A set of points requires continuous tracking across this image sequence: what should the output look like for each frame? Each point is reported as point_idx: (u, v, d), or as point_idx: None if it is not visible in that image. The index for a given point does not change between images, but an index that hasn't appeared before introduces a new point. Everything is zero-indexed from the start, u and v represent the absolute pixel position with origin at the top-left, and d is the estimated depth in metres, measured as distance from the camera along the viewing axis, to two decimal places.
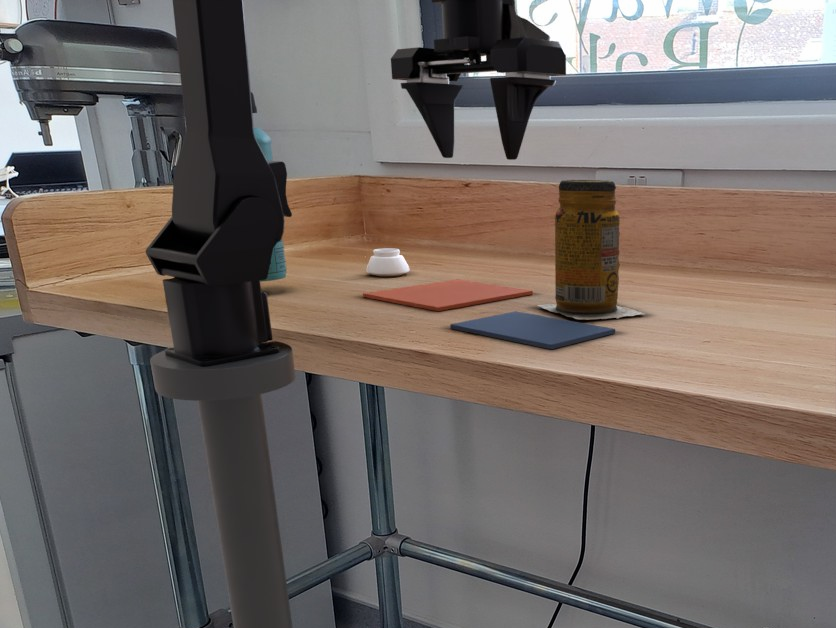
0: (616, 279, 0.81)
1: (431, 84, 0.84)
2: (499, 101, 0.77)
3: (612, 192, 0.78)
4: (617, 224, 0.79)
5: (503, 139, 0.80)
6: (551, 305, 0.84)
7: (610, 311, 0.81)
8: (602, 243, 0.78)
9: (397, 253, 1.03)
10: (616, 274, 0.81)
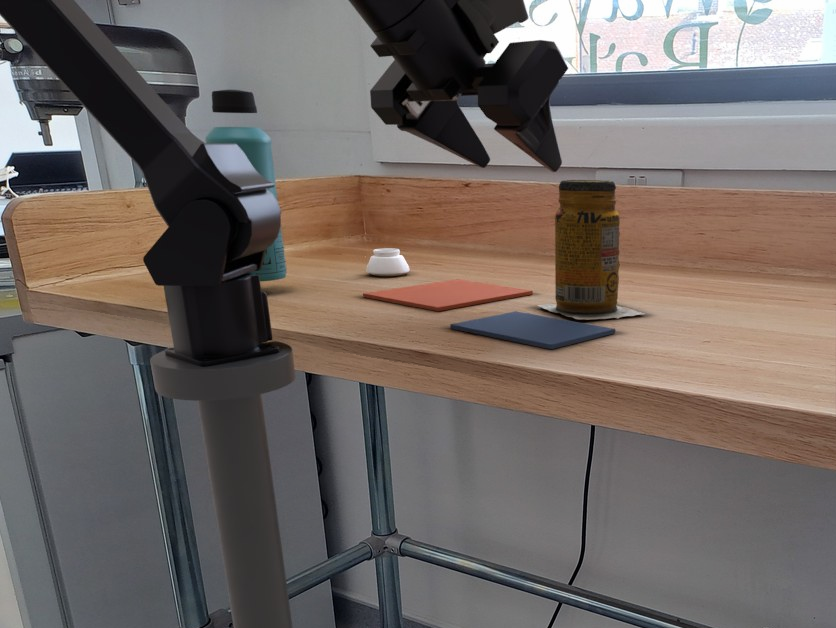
0: (616, 279, 0.81)
1: (427, 112, 0.70)
2: (516, 142, 0.64)
3: (612, 192, 0.78)
4: (617, 224, 0.79)
5: (539, 162, 0.68)
6: (551, 305, 0.84)
7: (610, 311, 0.81)
8: (602, 243, 0.78)
9: (397, 253, 1.03)
10: (616, 274, 0.81)
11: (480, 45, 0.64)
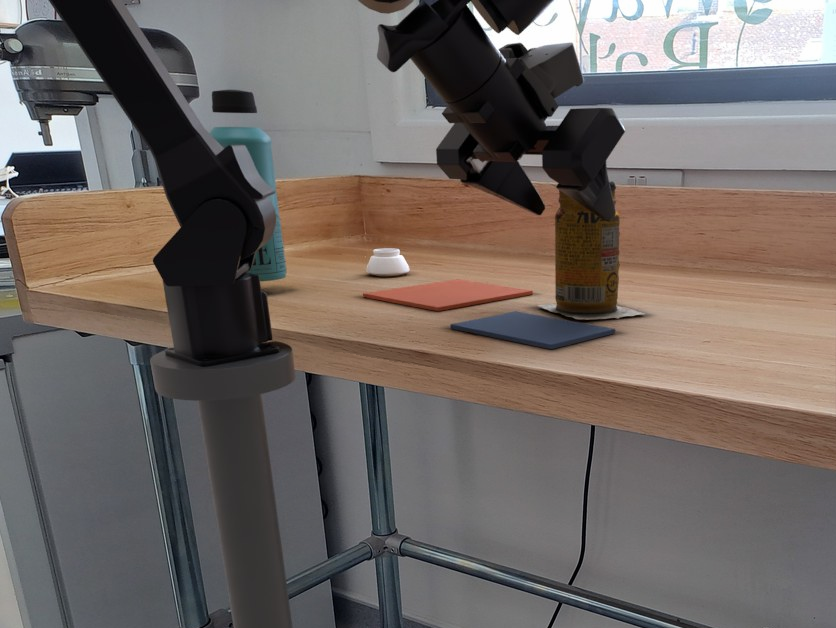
0: (616, 279, 0.81)
1: (489, 168, 0.76)
2: (576, 198, 0.70)
3: (612, 192, 0.78)
4: (617, 224, 0.79)
5: (596, 213, 0.73)
6: (551, 305, 0.84)
7: (610, 311, 0.81)
8: (602, 243, 0.78)
9: (397, 253, 1.03)
10: (616, 274, 0.81)
11: (542, 110, 0.69)
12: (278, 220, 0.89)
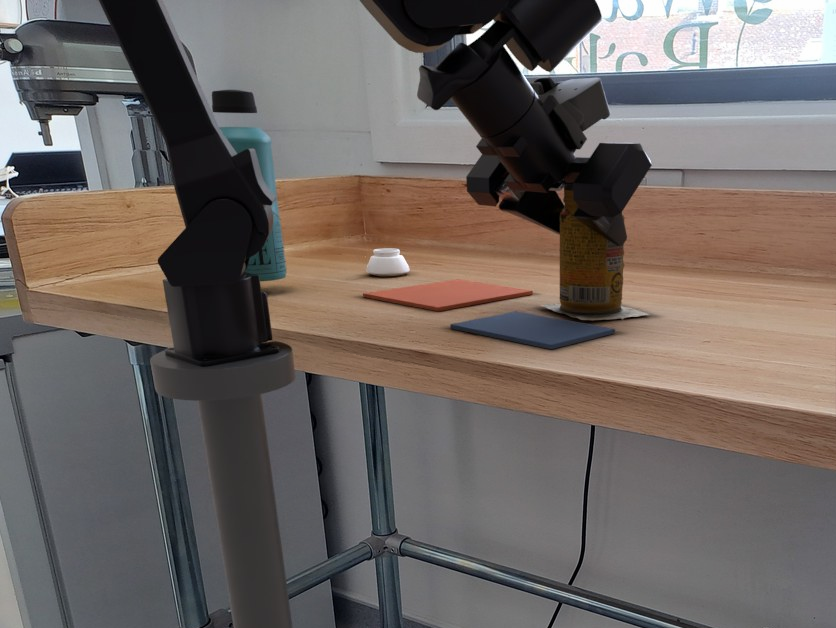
0: (621, 279, 0.80)
1: (527, 196, 0.78)
2: (591, 225, 0.74)
3: None
4: None
5: (609, 239, 0.77)
6: (555, 305, 0.83)
7: (614, 311, 0.81)
8: (607, 244, 0.78)
9: (397, 253, 1.03)
10: (621, 274, 0.80)
11: (571, 143, 0.72)
12: (278, 220, 0.89)
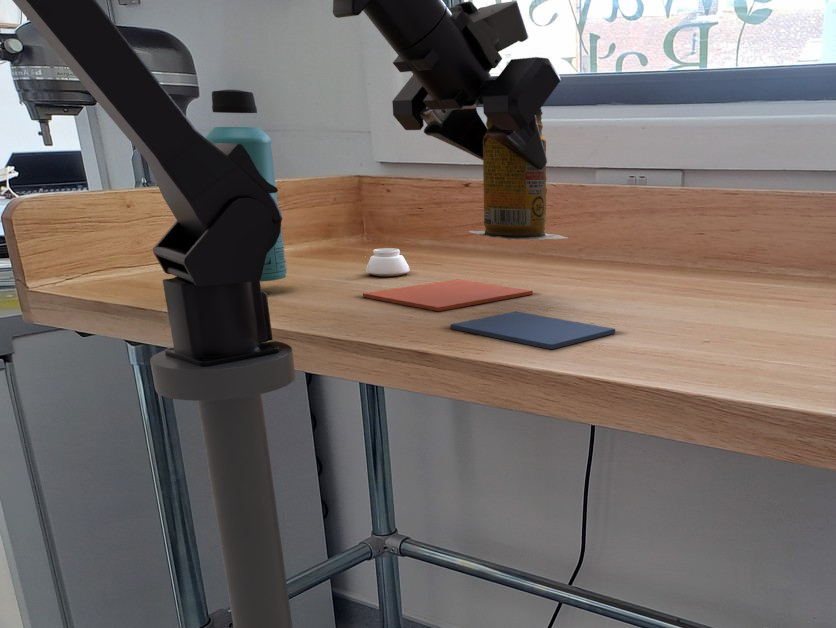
0: (542, 204, 0.82)
1: (450, 119, 0.80)
2: (506, 144, 0.76)
3: (538, 116, 0.80)
4: None
5: (527, 161, 0.79)
6: (481, 231, 0.86)
7: (536, 235, 0.83)
8: (527, 166, 0.80)
9: (397, 253, 1.03)
10: (542, 199, 0.82)
11: (486, 61, 0.74)
12: None
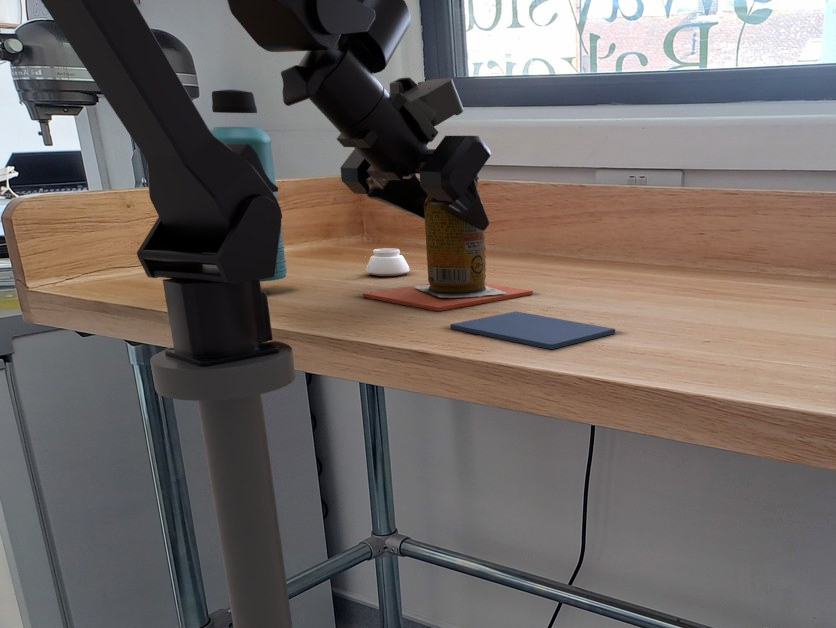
0: (481, 262, 0.89)
1: (390, 184, 0.87)
2: (448, 211, 0.82)
3: None
4: None
5: (470, 224, 0.85)
6: (426, 286, 0.92)
7: (476, 291, 0.89)
8: (464, 229, 0.86)
9: (397, 253, 1.03)
10: (481, 257, 0.89)
11: (423, 136, 0.81)
12: None
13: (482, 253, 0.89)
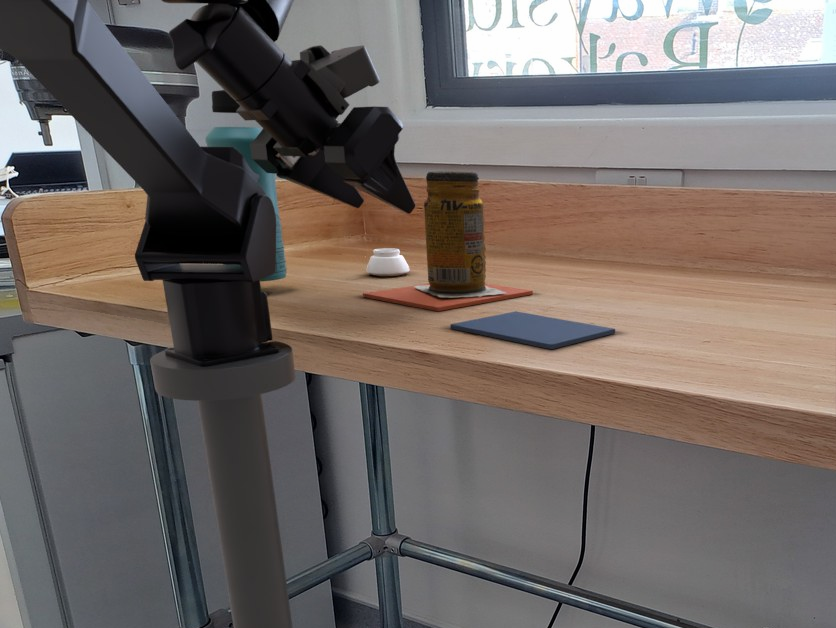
0: (481, 262, 0.89)
1: (300, 163, 0.81)
2: (365, 191, 0.74)
3: (474, 182, 0.86)
4: (480, 211, 0.87)
5: (392, 206, 0.77)
6: (426, 286, 0.92)
7: (476, 291, 0.89)
8: (465, 229, 0.86)
9: (397, 253, 1.03)
10: (481, 257, 0.89)
11: (332, 108, 0.74)
12: (278, 220, 0.89)
13: (482, 253, 0.89)
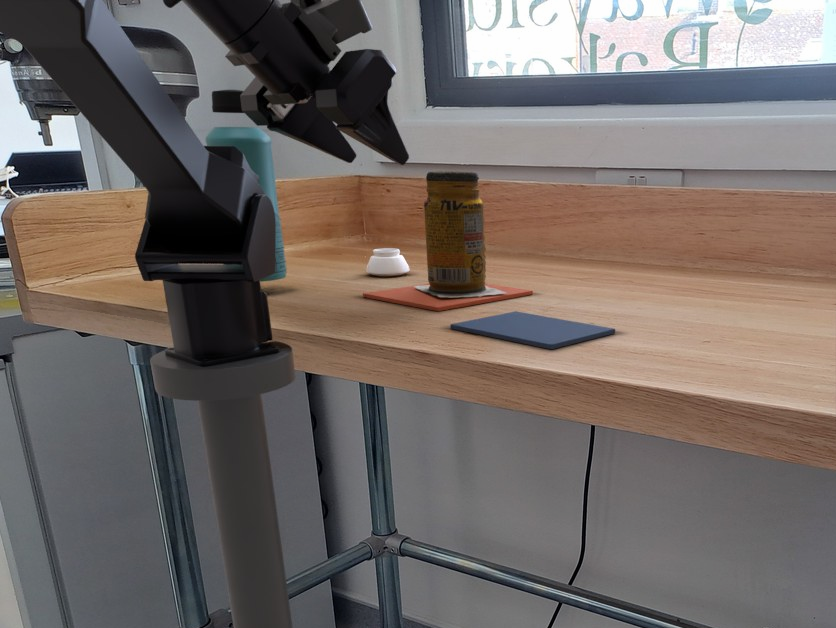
0: (481, 262, 0.89)
1: (291, 114, 0.79)
2: (358, 139, 0.73)
3: (474, 182, 0.86)
4: (480, 211, 0.87)
5: (386, 156, 0.76)
6: (426, 286, 0.92)
7: (476, 291, 0.89)
8: (465, 229, 0.86)
9: (397, 253, 1.03)
10: (481, 257, 0.89)
11: (324, 54, 0.72)
12: (278, 220, 0.89)
13: (482, 253, 0.89)
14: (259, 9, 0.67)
